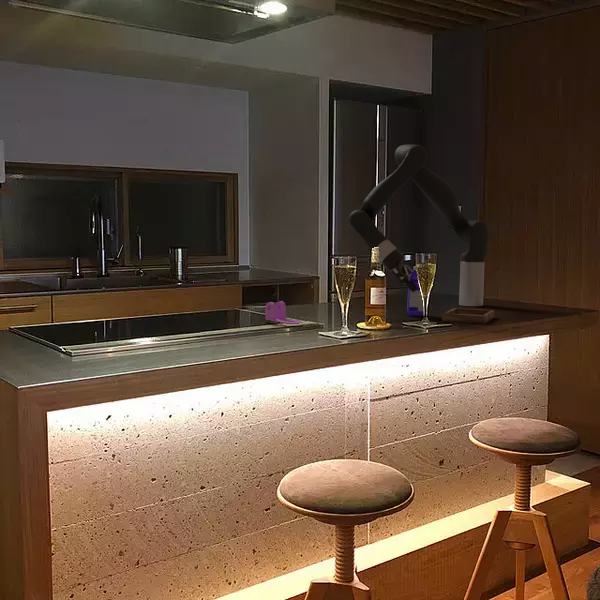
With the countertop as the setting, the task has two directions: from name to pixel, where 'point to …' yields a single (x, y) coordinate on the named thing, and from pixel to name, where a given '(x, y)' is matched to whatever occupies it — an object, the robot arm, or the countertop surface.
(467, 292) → the robot arm
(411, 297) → the bottle
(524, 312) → the countertop surface
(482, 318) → the walnut tray
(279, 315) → the bracket
